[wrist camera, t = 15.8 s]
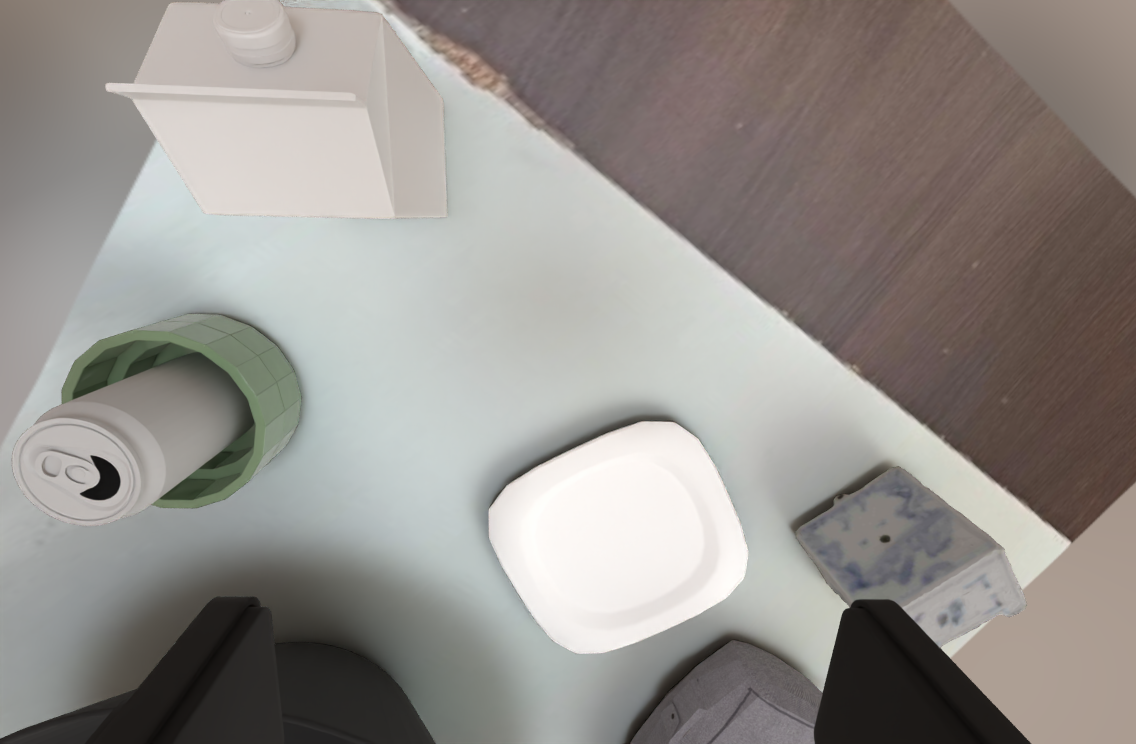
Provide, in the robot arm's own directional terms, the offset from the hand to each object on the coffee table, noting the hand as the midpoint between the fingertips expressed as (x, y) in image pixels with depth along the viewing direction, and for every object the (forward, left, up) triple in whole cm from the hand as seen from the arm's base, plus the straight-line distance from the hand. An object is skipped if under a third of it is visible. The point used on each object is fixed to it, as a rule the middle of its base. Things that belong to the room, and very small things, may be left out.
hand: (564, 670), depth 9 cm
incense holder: (+16, +27, -30) cm, 44 cm away
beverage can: (+6, -22, -30) cm, 37 cm away
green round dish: (+6, -22, -30) cm, 38 cm away
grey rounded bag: (+37, +17, -30) cm, 51 cm away
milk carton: (-10, -10, -30) cm, 33 cm away
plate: (+17, +7, -30) cm, 35 cm away
